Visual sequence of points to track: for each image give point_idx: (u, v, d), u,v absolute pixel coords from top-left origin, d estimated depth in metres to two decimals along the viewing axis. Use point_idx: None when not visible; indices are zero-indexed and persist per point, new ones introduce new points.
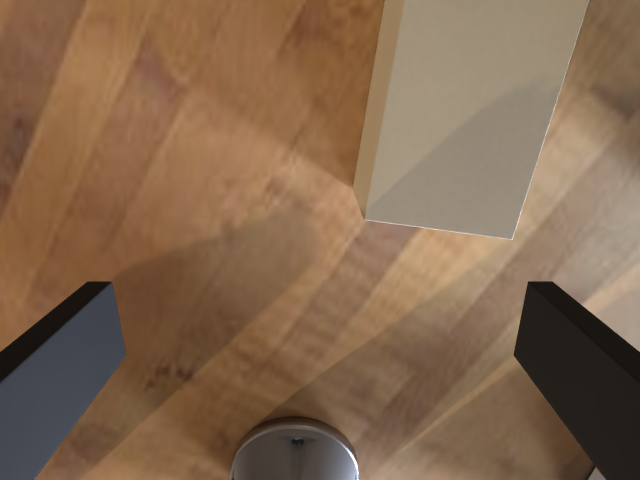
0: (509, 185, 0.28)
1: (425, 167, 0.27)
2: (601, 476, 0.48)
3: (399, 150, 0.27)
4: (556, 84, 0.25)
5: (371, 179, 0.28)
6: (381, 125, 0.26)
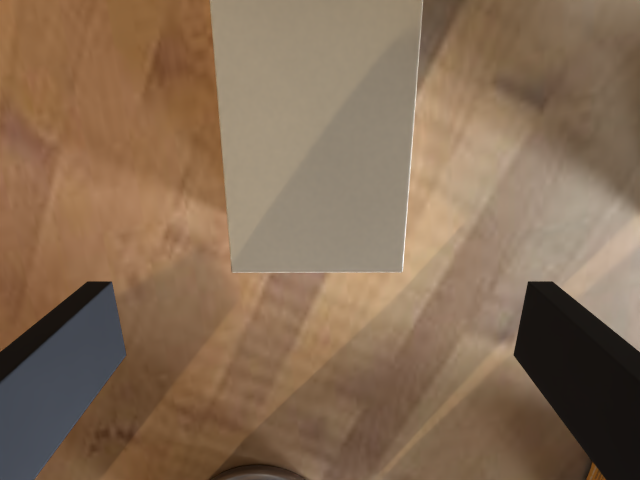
0: (383, 214, 0.24)
1: (284, 208, 0.24)
2: None
3: (250, 194, 0.24)
4: (408, 98, 0.22)
5: (228, 229, 0.25)
6: (224, 170, 0.23)
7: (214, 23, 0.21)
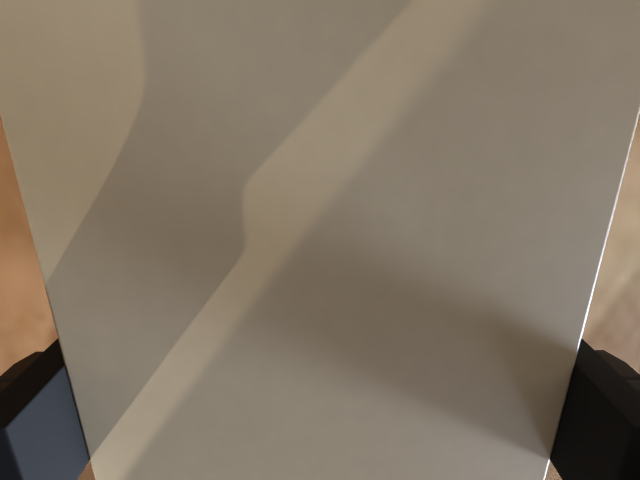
0: (500, 411, 0.09)
1: (232, 397, 0.09)
2: None
3: (133, 364, 0.09)
4: (621, 93, 0.07)
5: (87, 440, 0.09)
6: (52, 303, 0.08)
7: None
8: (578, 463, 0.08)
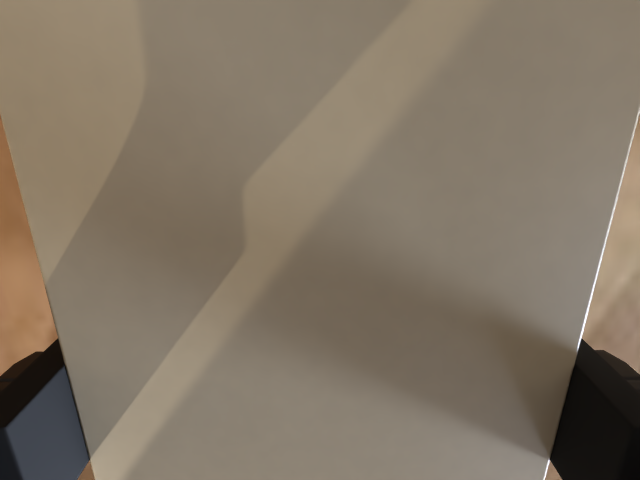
0: (500, 411, 0.09)
1: (232, 397, 0.09)
2: None
3: (134, 364, 0.09)
4: (620, 94, 0.07)
5: (87, 440, 0.09)
6: (52, 303, 0.08)
7: None
8: (578, 463, 0.08)
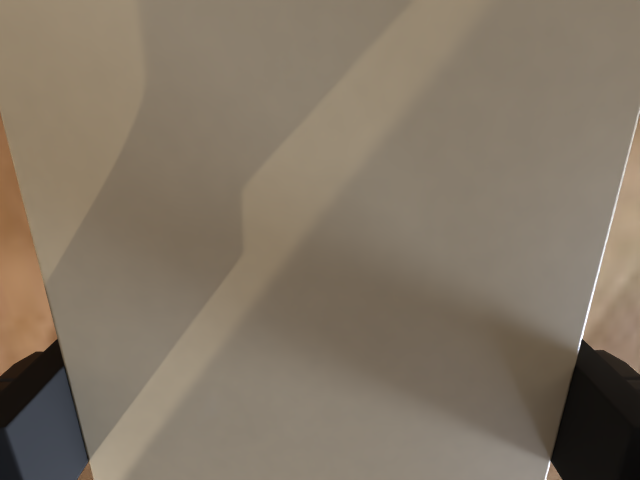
0: (501, 411, 0.09)
1: (232, 397, 0.09)
2: None
3: (133, 364, 0.08)
4: (621, 92, 0.07)
5: (86, 440, 0.09)
6: (51, 302, 0.08)
7: None
8: (579, 463, 0.08)
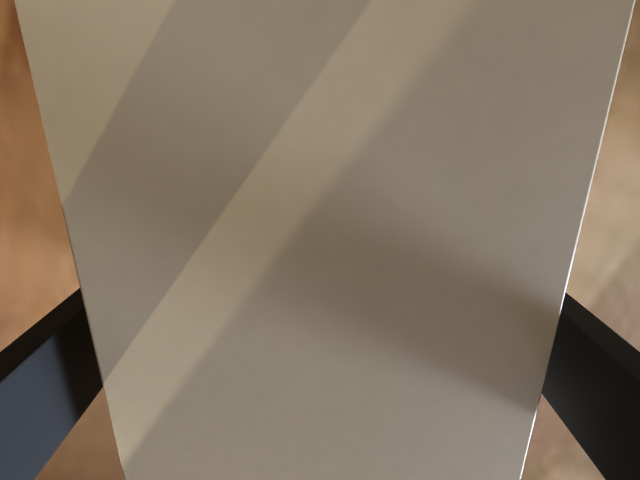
0: (487, 378, 0.10)
1: (242, 364, 0.10)
2: None
3: (153, 332, 0.09)
4: (593, 85, 0.07)
5: (109, 403, 0.10)
6: (80, 275, 0.09)
7: None
8: None
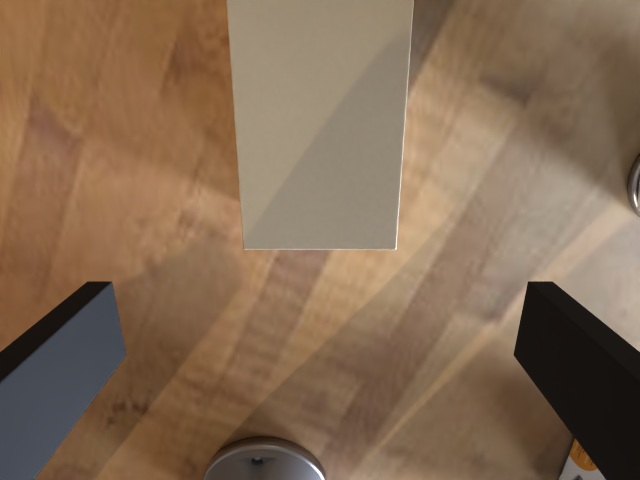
0: (379, 197, 0.27)
1: (291, 192, 0.27)
2: (574, 463, 0.47)
3: (260, 179, 0.27)
4: (400, 93, 0.25)
5: (241, 210, 0.28)
6: (237, 157, 0.27)
7: (230, 27, 0.24)
8: None
